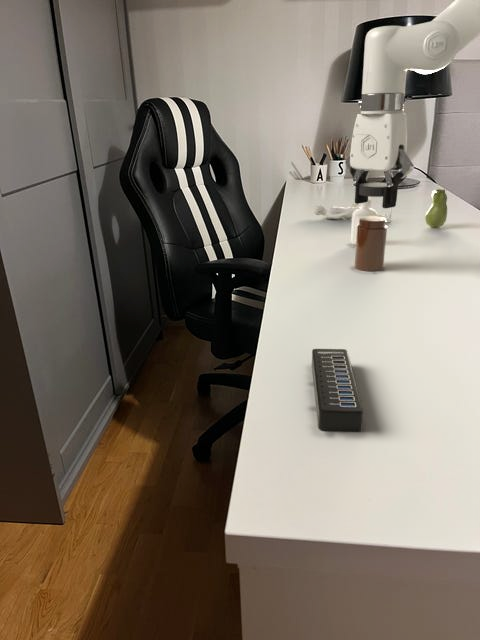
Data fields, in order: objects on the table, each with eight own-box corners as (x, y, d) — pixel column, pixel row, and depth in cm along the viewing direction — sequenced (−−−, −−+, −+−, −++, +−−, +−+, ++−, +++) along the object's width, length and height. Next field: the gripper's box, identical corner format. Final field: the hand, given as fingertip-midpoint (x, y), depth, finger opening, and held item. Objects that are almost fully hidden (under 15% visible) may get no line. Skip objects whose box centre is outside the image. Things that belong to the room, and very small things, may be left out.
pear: (446, 229, 132) (452, 190, 128) (425, 229, 133) (430, 190, 129) (443, 225, 137) (448, 187, 133) (422, 224, 138) (427, 187, 134)
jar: (378, 262, 105) (383, 215, 102) (386, 271, 100) (391, 221, 96) (351, 263, 105) (354, 216, 101) (358, 271, 100) (361, 222, 96)
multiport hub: (318, 430, 51) (319, 411, 50) (311, 364, 65) (312, 348, 64) (362, 431, 51) (363, 412, 50) (346, 364, 64) (347, 348, 63)
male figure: (390, 210, 137) (311, 208, 143) (389, 224, 138) (310, 221, 145) (392, 204, 146) (317, 201, 152) (391, 217, 147) (316, 214, 154)
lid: (369, 190, 101) (369, 181, 100) (398, 193, 97) (399, 183, 96) (353, 195, 97) (353, 185, 96) (382, 197, 93) (383, 187, 92)
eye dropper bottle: (372, 246, 117) (377, 194, 113) (348, 244, 119) (352, 193, 115) (376, 242, 121) (380, 191, 116) (352, 240, 123) (356, 190, 118)
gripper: (333, 106, 95) (329, 202, 102) (408, 104, 82) (398, 214, 89) (360, 105, 99) (354, 197, 106) (436, 103, 86) (424, 208, 93)
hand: (374, 204), depth 98 cm, fingers closed on lid, 6 cm apart
